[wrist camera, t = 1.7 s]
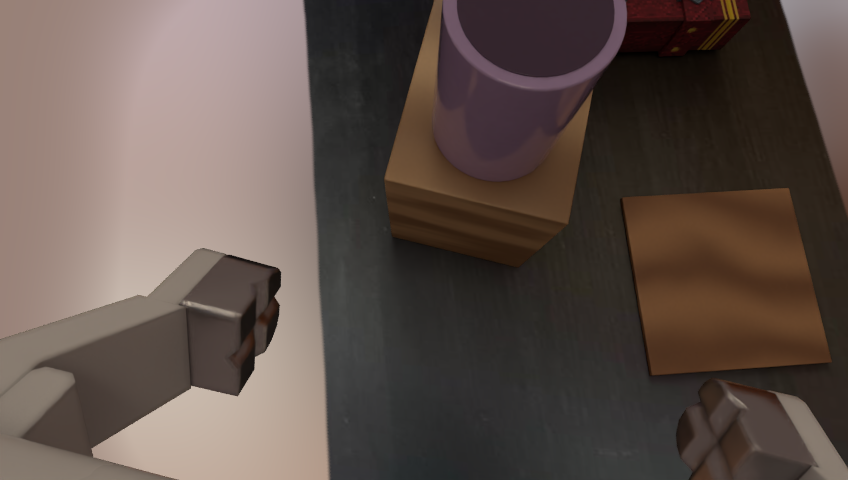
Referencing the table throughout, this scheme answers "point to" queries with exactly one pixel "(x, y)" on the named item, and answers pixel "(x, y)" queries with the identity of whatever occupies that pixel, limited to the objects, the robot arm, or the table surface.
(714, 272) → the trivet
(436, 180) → the block
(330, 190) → the table surface
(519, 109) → the lavender cup
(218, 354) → the robot arm
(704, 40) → the decorative book
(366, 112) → the table surface
